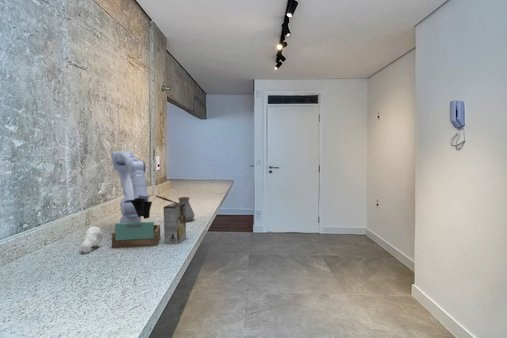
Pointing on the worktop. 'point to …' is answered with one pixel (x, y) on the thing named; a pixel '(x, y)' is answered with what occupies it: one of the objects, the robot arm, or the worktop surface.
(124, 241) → the brown wooden open box
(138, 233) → the panel
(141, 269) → the worktop surface
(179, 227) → the coffee box
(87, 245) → the white rounded lump
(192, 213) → the coffee pot
